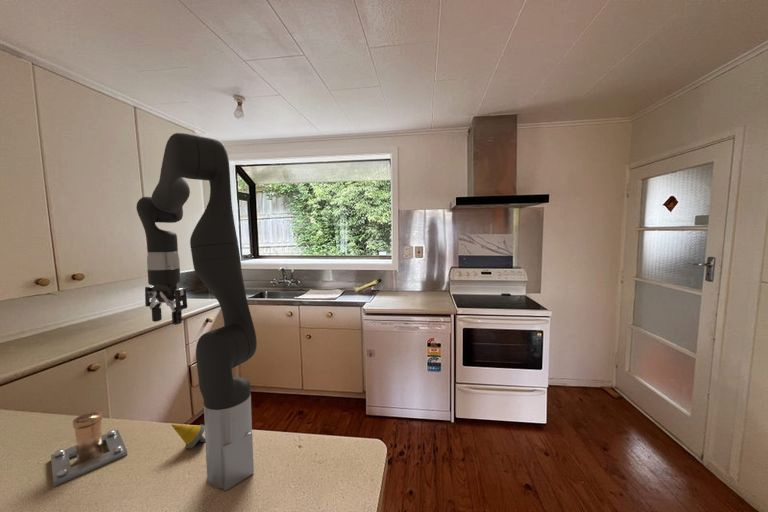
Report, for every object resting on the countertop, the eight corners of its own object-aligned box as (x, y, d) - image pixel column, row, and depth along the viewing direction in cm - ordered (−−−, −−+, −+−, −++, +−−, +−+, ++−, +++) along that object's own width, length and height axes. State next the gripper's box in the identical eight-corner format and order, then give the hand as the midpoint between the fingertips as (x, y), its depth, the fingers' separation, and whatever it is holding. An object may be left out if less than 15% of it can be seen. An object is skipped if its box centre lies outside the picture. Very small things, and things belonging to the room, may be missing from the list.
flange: (127, 454, 72) (126, 447, 72) (53, 487, 63) (52, 478, 63) (118, 433, 80) (117, 426, 79) (51, 459, 70) (50, 451, 70)
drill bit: (203, 453, 73) (166, 436, 69) (196, 453, 76) (159, 436, 72) (217, 430, 77) (182, 412, 73) (209, 430, 80) (176, 414, 76)
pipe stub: (106, 455, 72) (103, 416, 71) (76, 468, 68) (73, 426, 67) (102, 446, 75) (100, 408, 74) (74, 458, 71) (71, 418, 70)
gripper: (133, 268, 84) (136, 323, 85) (167, 269, 79) (170, 328, 80) (160, 265, 91) (163, 317, 92) (193, 266, 86) (196, 321, 87)
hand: (167, 322), depth 86 cm, fingers open, 8 cm apart
